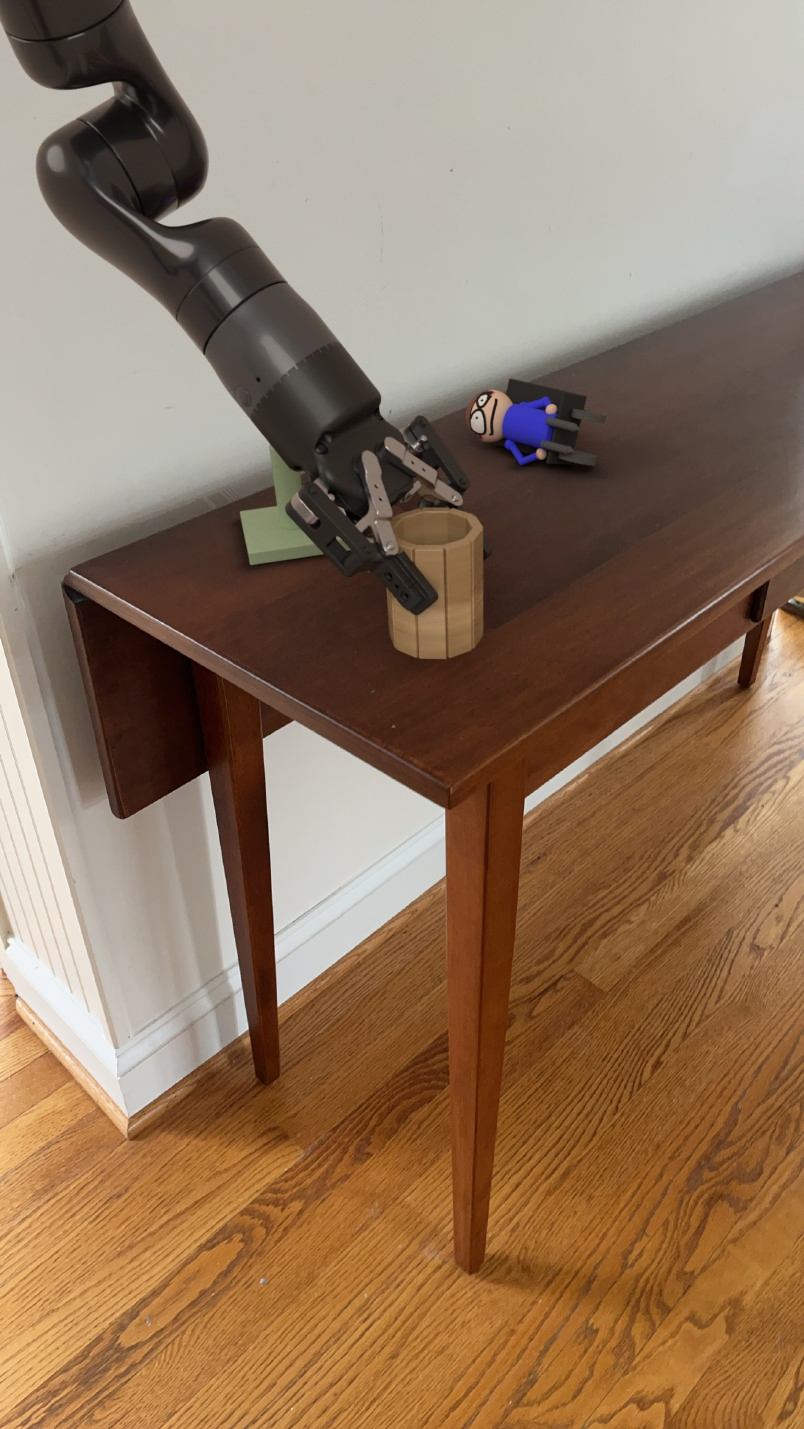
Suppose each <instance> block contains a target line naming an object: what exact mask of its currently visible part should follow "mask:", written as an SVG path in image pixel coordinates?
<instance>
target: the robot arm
mask: <svg viewBox="0 0 804 1429" xmlns="http://www.w3.org/2000/svg"><path fill="white" fill-rule="evenodd" d="M0 24H1V26H2V28H3V31H4V33H5V36H6V38H7V40H8V43H9V44H10V47H11V49H12V51H13V53H14V56H15V58H16V59H17V61H18V63H19V65H20V67H21V68H22V70H23V71H24V73H25V74H26V75H27V76H28V77H29V78H30V79H31V80H32V81H33V82H35V83H36V84H38V85H39V86H40V87H44V88H46V89H49V90H53V91H75V90H83V89H87V88H91V87H96V86H101V85H105V84H111V86H112V89H113V96H111V97H109V98H108V99H106V100H105V101H103V102H101V103H99V104H98V105H96V106H95V107H93V108H91V109H90V110H88V111H86V112H84V113H83V114H81V115H80V116H77V117H76V118H75V119H72V120H71V121H69V122H67V123H66V124H64V125H62V126H60V127H58V128H57V129H56V130H54V131H53V132H51V133H50V134H49V135H48V136H46V137H45V138H44V139H43V141H42V142H41V143H40V145H39V147H38V149H37V153H36V157H35V176H36V180H37V184H38V188H39V190H40V193H41V196H42V198H43V201H44V202H45V204H46V206H47V207H48V209H49V211H50V212H51V213H52V215H53V216H54V217H55V219H56V220H57V221H58V222H59V223H60V225H61V226H62V227H63V228H64V229H65V230H66V231H67V232H68V233H69V234H70V235H71V236H72V237H73V238H75V239H76V240H77V241H78V242H80V244H82V245H83V246H85V248H87V249H88V250H90V251H91V252H92V253H94V254H96V255H97V256H98V257H99V258H101V259H102V260H104V261H105V262H106V263H108V264H110V265H111V266H112V267H114V268H115V269H117V270H118V271H119V272H120V273H122V274H123V275H125V277H127V278H129V279H130V280H131V281H132V282H133V283H135V284H136V285H137V286H139V287H140V288H141V289H142V290H143V291H145V292H146V293H147V294H148V295H149V296H151V297H152V298H154V299H155V300H156V301H157V302H158V303H160V305H161V306H162V307H164V309H165V310H166V311H167V312H168V313H169V315H170V316H171V317H172V318H173V319H174V320H175V322H176V323H177V324H178V325H179V326H180V328H181V329H182V330H183V331H184V332H185V334H186V336H188V338H189V339H190V340H191V341H192V342H193V344H194V345H195V346H196V348H197V349H198V350H199V351H200V353H201V354H202V355H203V356H204V358H205V359H206V360H207V362H208V363H209V365H210V366H211V368H212V369H213V371H214V372H215V374H216V376H217V378H218V379H219V382H221V384H222V386H223V387H224V388H225V391H227V392H228V394H229V395H230V397H231V398H232V399H233V400H234V401H235V403H237V405H238V407H240V409H241V410H242V411H243V412H244V414H245V415H246V416H247V417H248V418H249V420H250V421H251V423H253V425H254V426H255V428H256V429H257V430H258V432H260V434H261V435H262V436H263V437H264V439H265V440H266V441H267V442H268V444H269V445H271V446H272V447H273V448H274V450H275V451H276V452H277V453H278V455H279V456H280V457H281V458H282V460H283V461H284V462H285V463H286V465H287V466H288V467H289V468H290V469H291V470H293V471H296V472H300V473H301V472H304V473H305V475H306V477H307V479H308V481H306V482H305V483H303V485H302V488H301V489H300V490H299V491H298V492H297V493H296V494H295V495H294V496H293V497H292V499H291V500H290V501H289V502H288V503H287V504H286V506H285V511H286V513H287V515H288V516H289V517H290V518H291V519H292V520H293V521H294V522H295V523H296V525H297V526H298V527H299V528H300V529H301V530H302V531H303V532H304V533H305V534H306V535H307V536H308V537H309V539H310V540H311V541H312V542H313V543H314V544H315V545H316V546H317V547H318V548H319V549H320V550H321V551H322V552H323V555H324V556H325V557H326V558H327V559H328V560H329V561H330V562H331V564H333V566H334V567H335V568H336V569H337V570H338V571H339V572H340V573H341V574H342V575H343V576H345V577H346V578H353V577H354V576H356V574H360V573H364V572H367V573H369V574H374V575H375V576H377V578H378V579H379V580H380V581H381V582H382V583H383V585H384V586H385V587H387V588H388V590H389V591H390V592H391V593H392V594H393V596H394V597H395V598H396V599H397V601H398V602H399V603H400V605H401V606H402V607H404V608H405V609H406V610H408V611H410V612H411V613H412V614H414V615H419V614H421V613H422V612H423V611H425V610H426V609H427V608H429V607H430V606H431V605H432V604H433V603H435V602H436V601H437V600H438V593H437V592H436V590H435V589H434V588H433V587H432V585H431V584H430V583H429V582H428V580H427V579H426V578H425V577H424V575H423V574H422V573H421V572H420V570H419V569H418V568H417V567H416V565H415V564H414V563H413V562H412V561H411V560H410V558H409V557H408V555H407V554H406V553H405V551H403V552H401V553H400V554H399V555H398V554H397V553H398V551H399V547H398V544H397V541H396V538H395V535H394V532H393V529H392V526H391V519H392V518H393V517H394V516H393V515H394V514H393V508H392V507H394V506H396V507H398V508H399V509H401V510H402V511H405V512H408V511H411V510H415V509H418V508H420V509H423V508H449V509H452V508H454V509H457V510H460V511H464V512H466V510H465V509H464V507H463V503H464V500H463V497H464V494H465V492H466V491H467V490H469V489H470V487H471V481H470V479H469V478H468V475H466V473H465V471H464V470H463V469H462V467H461V466H460V464H459V462H458V461H457V460H456V459H455V457H454V455H453V454H452V453H451V451H450V450H449V448H448V447H447V446H446V444H445V442H444V441H443V439H442V438H441V437H440V436H439V434H438V432H437V431H436V430H435V428H434V426H433V425H432V423H431V422H430V421H429V420H428V419H427V418H426V417H425V416H424V415H421V414H420V415H417V416H415V417H414V418H413V419H412V421H410V422H409V423H408V424H407V425H406V426H403V427H401V428H399V429H398V428H397V427H396V426H394V425H393V424H391V423H390V422H389V421H388V420H387V419H385V418H384V417H383V415H382V414H381V408H380V406H381V404H382V395H381V392H380V391H379V389H378V388H377V387H376V386H375V384H374V383H373V381H371V379H370V378H369V377H368V376H367V375H366V373H365V372H364V370H363V369H362V368H361V367H360V365H359V364H358V363H357V361H356V360H355V359H354V357H353V356H352V355H351V353H349V352H348V350H347V349H346V347H345V346H344V345H343V344H342V342H341V341H340V339H339V338H337V336H336V335H335V334H334V332H333V331H332V330H331V329H330V327H329V325H327V323H326V322H325V321H324V320H323V318H322V317H321V316H320V315H319V313H317V311H316V310H315V309H314V307H313V306H311V305H310V304H309V302H307V300H305V299H304V298H303V297H302V296H301V295H300V294H299V293H298V292H297V291H296V290H295V289H294V287H292V285H291V284H289V282H288V280H287V279H286V278H285V277H284V275H283V274H282V273H281V271H280V270H279V269H278V267H276V266H275V264H274V263H273V262H272V260H271V259H270V258H269V256H268V255H267V254H266V252H265V251H264V250H263V249H262V247H261V246H260V245H259V243H257V241H256V240H255V239H254V237H253V236H252V235H251V234H250V232H248V230H247V229H246V228H245V227H244V226H243V225H242V224H241V223H239V222H238V221H236V220H235V219H233V218H231V217H227V216H215V217H210V218H206V219H202V220H198V221H196V222H192V223H188V224H182V225H172V226H170V225H165V224H162V223H160V221H162V220H164V219H165V218H166V217H168V216H170V215H171V214H173V213H174V212H176V211H177V210H179V209H181V208H183V207H184V206H186V205H187V204H189V203H190V202H192V201H193V200H194V199H196V197H197V196H199V194H201V192H202V191H203V190H204V188H205V185H206V184H207V183H206V182H207V180H208V175H209V167H210V156H209V154H210V153H209V148H208V143H207V141H206V140H207V139H206V138H205V134H204V132H203V130H202V128H201V126H200V124H199V123H198V121H197V119H196V117H195V115H194V114H193V113H192V112H193V111H191V109H190V107H189V106H188V104H187V103H186V101H185V100H184V98H183V97H182V96H181V94H180V93H179V91H178V89H177V88H176V86H175V85H174V83H173V82H172V79H171V78H170V77H169V75H168V74H167V72H166V70H165V68H164V66H163V64H162V63H161V61H160V59H159V57H158V55H157V54H156V52H155V50H154V48H153V47H152V44H151V43H150V42H149V39H148V37H147V35H146V34H145V31H144V30H143V28H142V25H141V24H140V21H139V19H138V18H137V15H136V13H135V12H134V9H133V6H132V4H131V1H130V0H0ZM439 468H440V469H441V470H442V472H443V473H444V474H445V476H446V477H447V479H448V480H449V481H448V482H447V483H445V482H444V481H443V480H442V478H441V477H440V475H439V473H438V470H439ZM414 479H415V480H416V482H414ZM428 496H432V497H433V498H434V499H435V500H434V501H432V500H430V499H428V498H427V497H428ZM336 536H337V537H340V538H341V539H342V540H343V542H344V543H345V544H346V545H347V546H348V547H349V548H350V549H351V550H350V552H349V551H347V550H346V549H345V548H344V547H343V546H342V545H341V544H340V543H339V542H338V541H337V539H336ZM492 554H493V548H492V546H491V545H490V543H489V541H488V539H487V537H486V536H485V534H484V533H483V562H485V561H486V560H487V559H488V558H489V557H490V556H492Z"/></svg>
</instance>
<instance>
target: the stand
mask: <svg viewBox="0 0 804 1429" xmlns="http://www.w3.org/2000/svg"><path fill="white" fill-rule="evenodd" d="M268 449H269V450H268V451H269V456H270V461H271V463H270V464H271V471H272V479H273V483H274V484H273V485H274V493H275V499H276V505H274V506H268V507H267V506H266V507H262V508H261V507H260V508H253V509H246V510H240V511H239V515H240V522H241V528H242V532H243V538H244V542H245V546H246V550H247V556H248V562H249V565H250V566H255V565H262V564H268V563H276V562H282V561H289V560H295V559H301V558H309V557H316V556H322V555H324V554H323V552H322V551H321V550H320V549H319V548H318V547H317V546H316V545H315V544H314V543H313V542H312V541H311V540H310V539H309V537H308V536H307V535H306V534H305V533H304V532H303V531H302V530H301V529H300V528H299V527H298V526H297V525H296V523H295V522H294V521H293V520H292V519H291V518H290V517H289V516H288V515H287V513H286V511H285V506H286V504H287V503H288V502H289V501H290V500H291V499H292V497H293V496H294V495H295V494H296V493H297V492H298V491H299V490H300V489H301V488H302V487H303V485H302V476H301V472H296V471H293V470H291V469H290V468H289V467H288V466H287V465H286V463H285V462H284V461H283V460H282V458H281V457H280V456H279V455H278V453H277V452H276V451H275V450H274V448H273V447H272V446H271V445H270V444H269V446H268ZM336 539H337V541H338V542H339V543H340V544H341V545H342V546H343V547H344V548H345V549H346V550H347V552H349V551H352V550H351V549H350V548H349V547H348V546H347V545H346V544H345V543H344V542H343V540H342V539H341V538H340V537H337V536H336Z"/></svg>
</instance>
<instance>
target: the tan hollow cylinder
mask: <svg viewBox="0 0 804 1429" xmlns="http://www.w3.org/2000/svg"><path fill="white" fill-rule="evenodd" d="M391 526H392V529H393V532H394V535H395V538H396V541H397V544H398V547H399V551H398V553H397V554H398V555H399V554H400V553H401V552H403V551H405V553H406V554H407V555H408V557H409V558H410V560H411V561H412V562H413V563H414V564H415V565H416V567H417V568H418V569H419V570H420V572H421V573H422V574H423V575H424V577H425V578H426V579H427V580H428V582H429V583H430V584H431V585H432V587H433V588H434V589H435V590H436V592H437V593H438V600H437V601H436V602H435V603H433V604H432V605H431V606H430V607H429V608H427V609H426V610H425V611H423V612H422V613H421V614H419V615H414V614H412V613H411V612H410V611H408V610H406V609H405V608H404V607H402V606H401V605H400V603H399V602H398V601H397V599H396V598H395V597H394V596H393V594H392V593H391V592H390V591H389V590H388V588H387V587H386V586H385V587H386V588H385V589H386V603H387V604H386V605H387V616H388V617H387V618H388V634H389V637H390V640H391V642H392V645H393V647H394V648H395V649H396V651H399V652H401V653H404V654H406V655H408V656H409V657H410V656H411V657H413V658H415V659H417V658H419V659H420V660H423V659H424V660H447V658H448V659H452V658H455V657H457V656H460V655H463V654H465V653H466V654H467V653H468V652H471V651H472V650H474V649H475V648H476V647H477V645H478V644H479V643H480V641H481V639H482V637H484V561H483V534H484V526H483V525H482V523H481V522H480V520H479V519H478V517H477V516H476V515H474V514H473V513H469V512H467V511H465V512H464V511H460V510H457V509H454V508H452V509H449V508H423V509H420V508H418V509H415V510H411V511H405V512H401V513H398V514H396V515H394V516H392V519H391Z"/></svg>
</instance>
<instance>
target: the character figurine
mask: <svg viewBox="0 0 804 1429" xmlns="http://www.w3.org/2000/svg"><path fill="white" fill-rule="evenodd" d="M587 398H588V397H587V395H584V394H579V393H575V392H570V391H566V390H563V389H557V388H553V387H549V386H545V385H540V384H536V383H532V382H528V381H524V380H520V379H519V380H518V379H514V378H510V377H509V379H508V382H507V387H506V391H505V393H504V392H502V391H500V390H497V389H486V390H482V391H480V392H479V393H477V394H475V395H474V396H473V397H472V398H471V400H470V401H469V403H468V405H467V408H466V411H465V423H466V427H467V429H468V431H469V432H470V434H471V435H472V436H473V437H474V438H475V439H476V440H479V441H481V442H483V443H495V445H496V446H501V447H503V448H505V449H506V450H508V451H510V452H511V453H512V455H513V456H514V458H515V460H516V461H517V463H518V464H519V465H520V466H526V465H527V464H529V463H532V462H535V461H537V460H542V461H543V460H545V459H546V464H551V465H571V464H572V463H575V464H579V465H584V466H585V465H586V466H596V465H597V461H598V455H595V454H592V453H589V452H585V451H580V450H576V449H575V447H576V443H577V439H578V435H579V431H580V430H581V423H582V421H586V422H590V423H591V422H592V423H597V424H606V419H607V415H606V414H603V413H599V412H594V411H590V410H585V407H586V403H587ZM522 453H525V454H529V455H526V456H523V454H522Z"/></svg>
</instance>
